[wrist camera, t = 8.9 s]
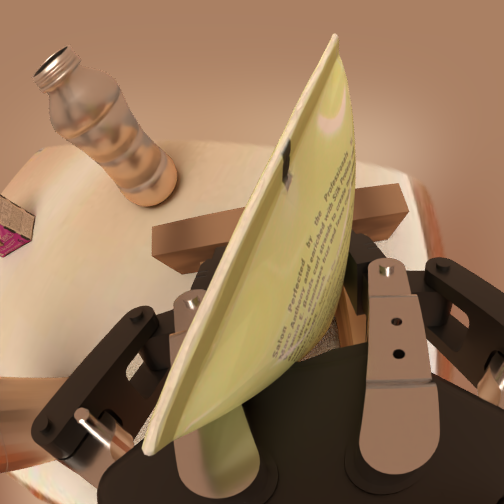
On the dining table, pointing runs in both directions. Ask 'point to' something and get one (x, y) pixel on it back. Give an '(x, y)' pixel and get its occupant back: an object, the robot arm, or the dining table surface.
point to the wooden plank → (224, 223)
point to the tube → (272, 267)
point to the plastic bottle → (104, 127)
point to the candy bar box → (14, 226)
